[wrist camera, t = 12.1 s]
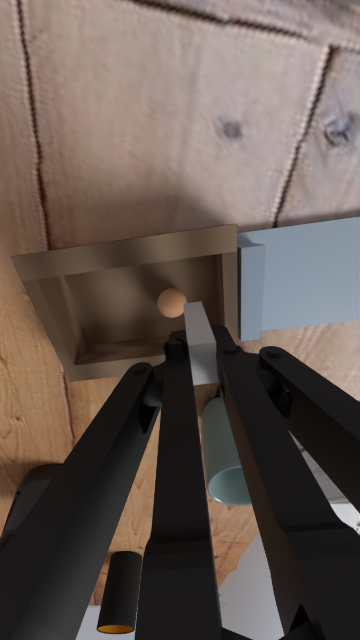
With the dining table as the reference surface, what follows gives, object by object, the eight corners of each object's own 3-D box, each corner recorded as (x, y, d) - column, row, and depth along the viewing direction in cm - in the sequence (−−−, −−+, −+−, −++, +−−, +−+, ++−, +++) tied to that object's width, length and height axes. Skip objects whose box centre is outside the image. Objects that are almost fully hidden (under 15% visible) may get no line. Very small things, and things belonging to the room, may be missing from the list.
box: (87, 357, 25) (69, 381, 21) (45, 251, 20) (10, 256, 15) (227, 340, 24) (238, 362, 20) (223, 225, 19) (236, 223, 15)
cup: (200, 427, 31) (210, 509, 22) (193, 391, 28) (201, 469, 19) (250, 421, 30) (281, 502, 21) (248, 383, 27) (284, 460, 18)
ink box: (268, 402, 29) (324, 506, 18) (303, 394, 28) (382, 496, 17) (275, 439, 32) (324, 544, 21) (306, 432, 32) (373, 537, 21)
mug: (115, 568, 55) (103, 638, 46) (108, 551, 50) (92, 625, 41) (144, 568, 55) (138, 637, 46) (140, 550, 50) (132, 624, 41)
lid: (230, 329, 24) (240, 349, 20) (228, 234, 20) (241, 234, 16) (379, 312, 23) (421, 329, 19) (414, 208, 19) (478, 202, 15)
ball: (161, 312, 22) (158, 324, 19) (156, 286, 21) (153, 295, 18) (187, 309, 22) (188, 320, 19) (184, 283, 21) (185, 291, 18)
